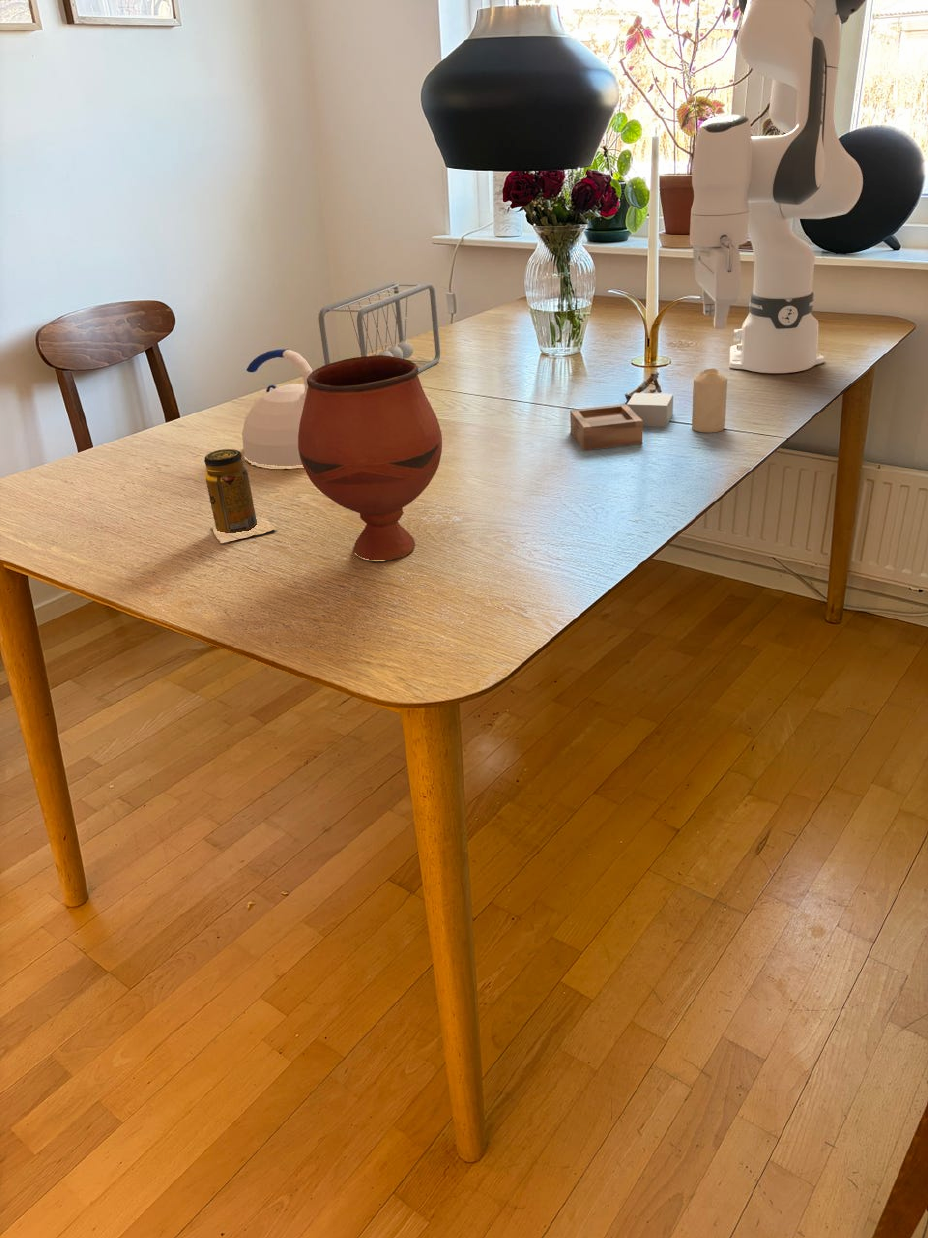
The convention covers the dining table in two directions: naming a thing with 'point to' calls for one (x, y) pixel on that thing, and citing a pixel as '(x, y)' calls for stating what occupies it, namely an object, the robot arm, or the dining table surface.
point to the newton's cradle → (403, 347)
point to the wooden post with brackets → (645, 385)
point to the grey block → (652, 408)
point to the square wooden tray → (606, 427)
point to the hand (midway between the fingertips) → (714, 321)
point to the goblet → (370, 445)
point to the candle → (709, 401)
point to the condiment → (229, 491)
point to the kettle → (276, 416)
